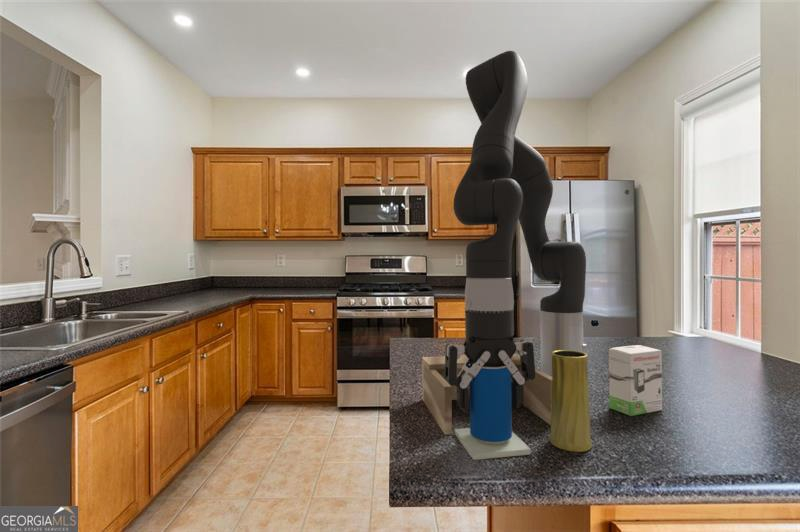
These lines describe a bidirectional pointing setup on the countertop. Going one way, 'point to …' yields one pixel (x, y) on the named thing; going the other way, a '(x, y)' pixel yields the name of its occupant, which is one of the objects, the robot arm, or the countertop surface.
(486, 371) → the beverage can
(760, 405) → the countertop surface
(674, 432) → the countertop surface
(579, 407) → the vase
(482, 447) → the tile
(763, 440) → the countertop surface
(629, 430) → the countertop surface
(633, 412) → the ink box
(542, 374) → the cubby
